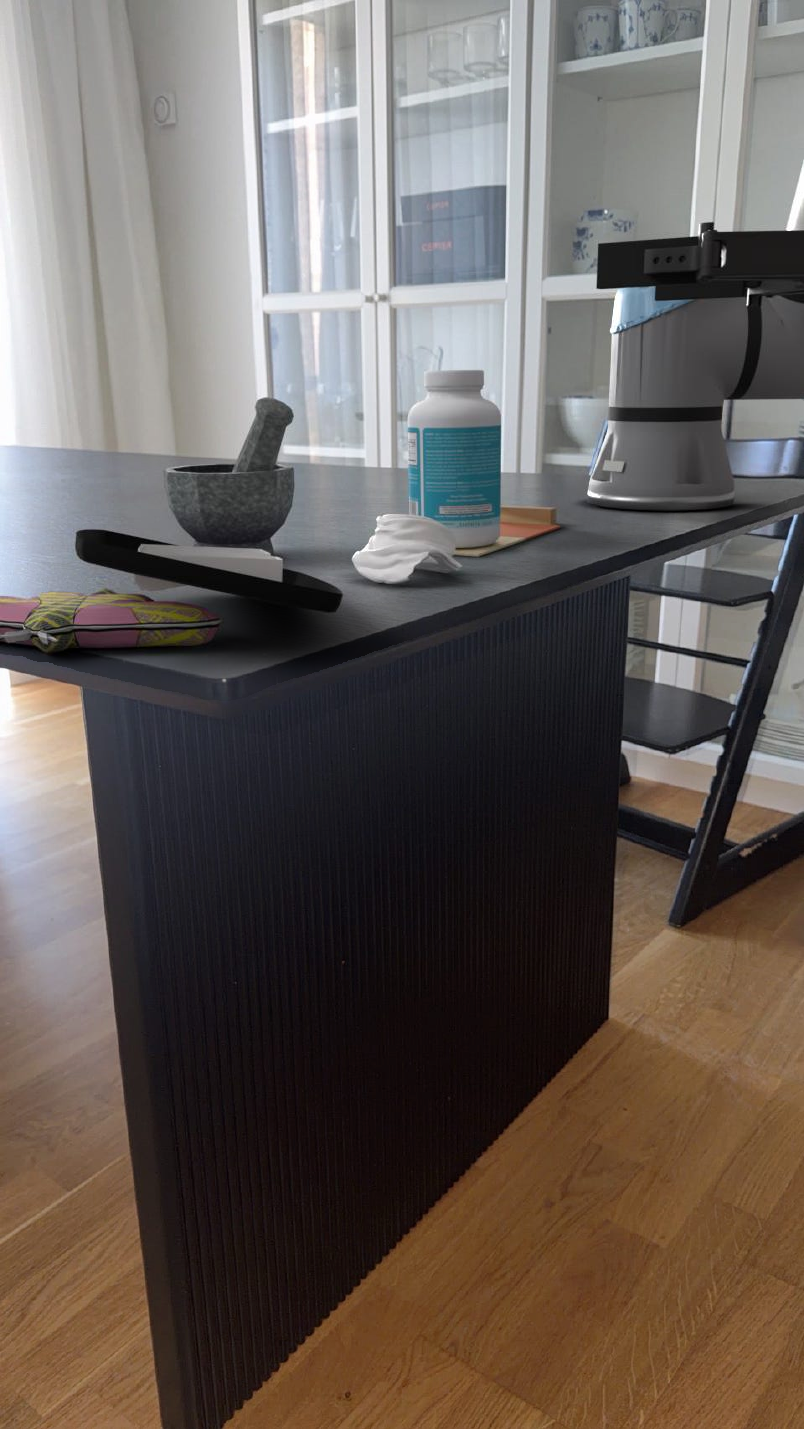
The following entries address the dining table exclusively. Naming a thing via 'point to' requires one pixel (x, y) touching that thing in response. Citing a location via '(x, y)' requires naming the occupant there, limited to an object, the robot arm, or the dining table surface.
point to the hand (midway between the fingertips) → (629, 274)
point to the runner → (508, 537)
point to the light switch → (206, 569)
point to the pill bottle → (456, 457)
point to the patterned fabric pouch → (103, 621)
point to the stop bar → (528, 515)
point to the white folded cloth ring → (406, 549)
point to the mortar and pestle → (238, 488)
